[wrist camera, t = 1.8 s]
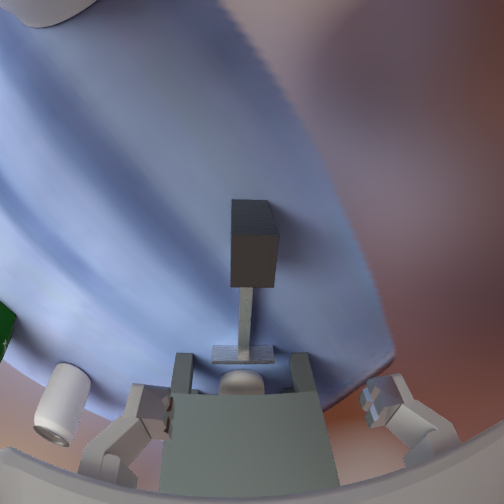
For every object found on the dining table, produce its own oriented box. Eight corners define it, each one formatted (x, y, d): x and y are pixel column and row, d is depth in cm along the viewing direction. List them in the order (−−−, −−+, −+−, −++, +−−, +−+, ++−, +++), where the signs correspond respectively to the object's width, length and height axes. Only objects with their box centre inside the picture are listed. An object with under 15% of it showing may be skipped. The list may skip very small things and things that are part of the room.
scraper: (208, 199, 24) (199, 234, 18) (290, 201, 25) (309, 236, 18) (212, 348, 33) (210, 397, 26) (272, 348, 33) (279, 396, 27)
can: (89, 391, 37) (71, 452, 27) (55, 374, 35) (32, 432, 25) (95, 374, 35) (73, 441, 24) (57, 354, 33) (29, 419, 22)
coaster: (219, 368, 35) (219, 380, 33) (265, 368, 35) (267, 380, 33) (218, 392, 37) (218, 404, 36) (260, 392, 38) (261, 403, 36)
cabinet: (171, 349, 32) (149, 522, 14) (311, 349, 34) (353, 513, 15) (182, 398, 38) (173, 531, 19) (297, 397, 39) (321, 526, 20)
